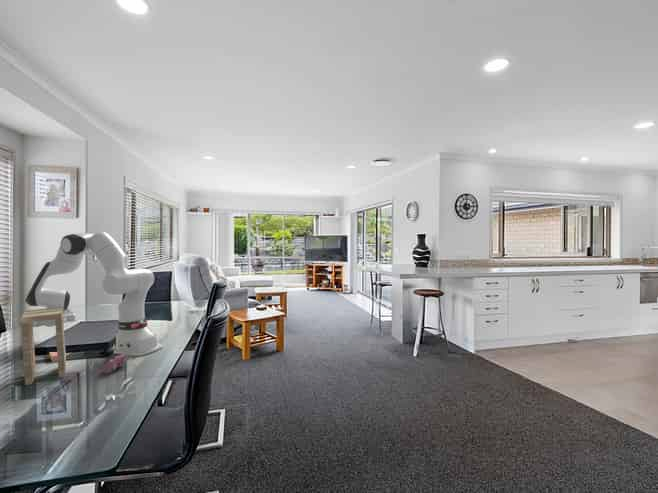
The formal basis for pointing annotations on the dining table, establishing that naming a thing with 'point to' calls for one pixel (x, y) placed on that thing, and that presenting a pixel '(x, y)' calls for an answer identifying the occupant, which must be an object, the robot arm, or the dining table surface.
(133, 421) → the dining table surface
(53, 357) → the terracotta bar
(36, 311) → the wooden stand
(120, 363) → the video game controller
